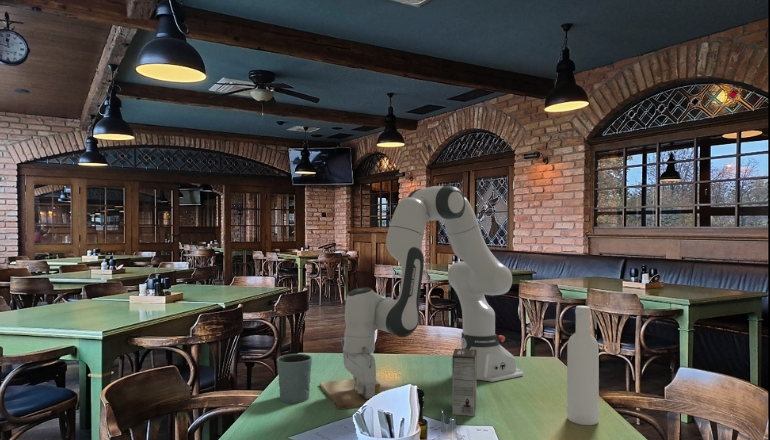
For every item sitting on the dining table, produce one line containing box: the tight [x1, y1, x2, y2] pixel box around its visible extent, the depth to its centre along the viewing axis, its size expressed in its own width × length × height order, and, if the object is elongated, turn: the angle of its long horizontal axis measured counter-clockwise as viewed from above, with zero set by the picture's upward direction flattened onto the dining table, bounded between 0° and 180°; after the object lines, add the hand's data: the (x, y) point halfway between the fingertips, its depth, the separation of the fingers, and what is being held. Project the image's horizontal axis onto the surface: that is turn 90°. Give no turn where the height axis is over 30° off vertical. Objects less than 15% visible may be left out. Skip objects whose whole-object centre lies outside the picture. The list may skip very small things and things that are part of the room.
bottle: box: [566, 305, 600, 426], centre depth 138 cm, size 8×8×30 cm
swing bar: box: [354, 384, 375, 399], centre depth 156 cm, size 12×4×5 cm, turn 21°
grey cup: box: [276, 353, 313, 404], centre depth 154 cm, size 10×10×12 cm
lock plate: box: [319, 376, 393, 410], centre depth 159 cm, size 20×23×5 cm
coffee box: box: [451, 348, 477, 417], centre depth 145 cm, size 9×6×16 cm
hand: (359, 392), depth 152 cm, fingers closed
